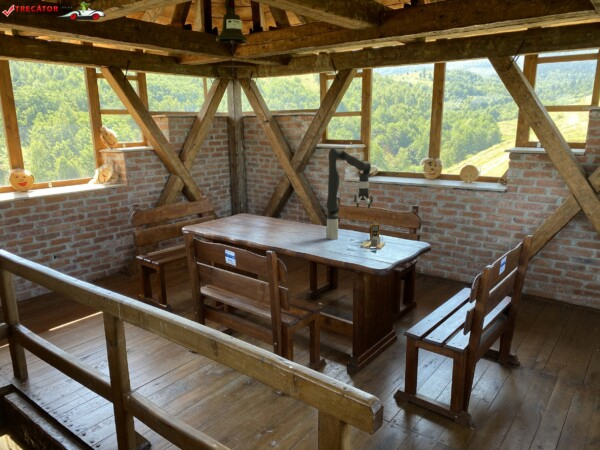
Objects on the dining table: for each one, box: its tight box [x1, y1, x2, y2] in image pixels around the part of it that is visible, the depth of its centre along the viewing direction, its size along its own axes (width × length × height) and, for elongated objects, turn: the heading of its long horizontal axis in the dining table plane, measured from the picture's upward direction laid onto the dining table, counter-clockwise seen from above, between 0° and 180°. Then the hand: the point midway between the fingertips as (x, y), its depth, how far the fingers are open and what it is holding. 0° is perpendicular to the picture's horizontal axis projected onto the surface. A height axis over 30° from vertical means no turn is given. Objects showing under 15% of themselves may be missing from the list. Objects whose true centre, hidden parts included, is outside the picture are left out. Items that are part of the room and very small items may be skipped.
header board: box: [360, 240, 386, 250], centre depth 350 cm, size 16×15×5 cm
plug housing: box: [370, 236, 381, 246], centre depth 348 cm, size 5×11×5 cm, turn 157°
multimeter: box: [366, 215, 384, 242], centre depth 366 cm, size 15×10×20 cm
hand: (363, 207), depth 346 cm, fingers open, 8 cm apart
